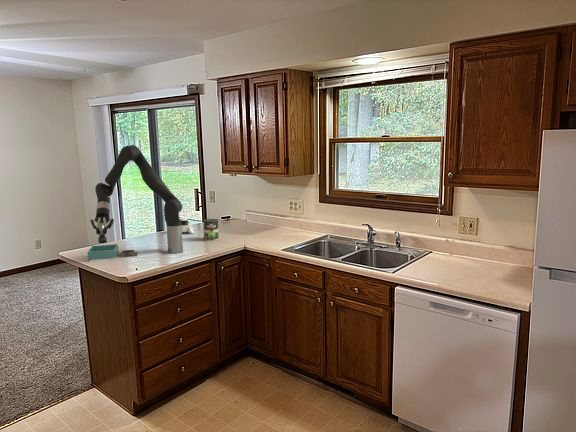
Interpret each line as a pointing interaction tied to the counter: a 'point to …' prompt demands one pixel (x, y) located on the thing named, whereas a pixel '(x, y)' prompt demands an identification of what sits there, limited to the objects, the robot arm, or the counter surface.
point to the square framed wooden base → (127, 253)
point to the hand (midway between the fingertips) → (101, 233)
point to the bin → (103, 252)
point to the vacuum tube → (101, 233)
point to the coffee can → (211, 229)
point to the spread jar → (186, 226)
